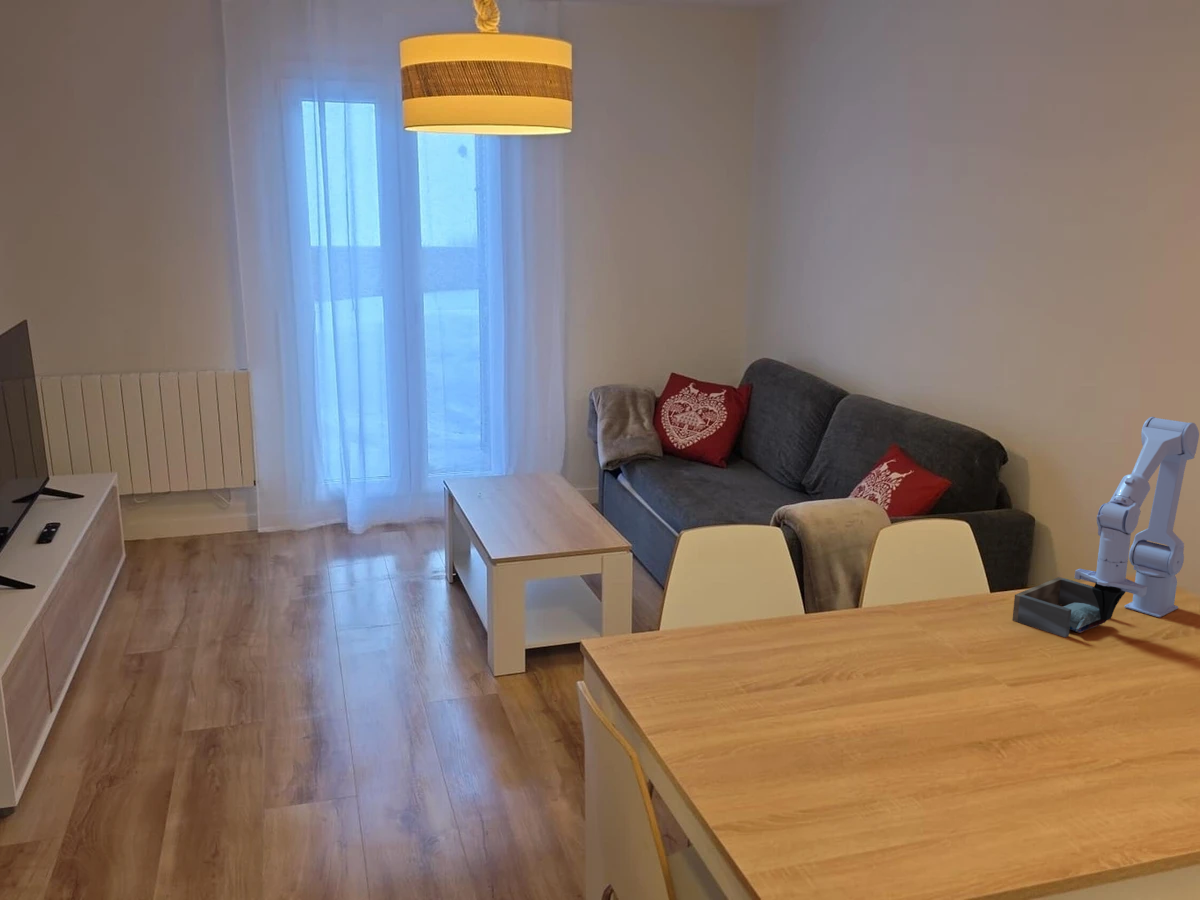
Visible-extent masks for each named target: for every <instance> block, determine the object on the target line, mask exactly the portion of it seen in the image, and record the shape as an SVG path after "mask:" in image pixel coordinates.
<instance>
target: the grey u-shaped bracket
mask: <svg viewBox="0 0 1200 900" xmlns="http://www.w3.org/2000/svg"><path fill="white" fill-rule="evenodd" d="M1092 587H1094V586H1093V585H1089V584H1086V583H1082V582H1078V581H1076V580H1071V579H1067V578H1064V577H1060V576H1057V577H1055V578H1053V579H1051V580H1047V581H1046V582H1043V583H1041V584H1038V585H1036V586H1033V587H1030V588H1028V589H1026V590H1024V591H1021V592H1018V593H1015V594H1014V601H1013V609H1012V619H1011V620H1012V621H1014V622H1017V623H1019V624H1023V625H1026V626H1029V627H1032V628H1035V629H1036V630H1037V629H1039V630H1041V631H1044V632H1047V633H1051V634H1052V635H1056V636H1060V637H1063V638H1067V637H1069V635H1070V629H1069V628H1070V619H1071V610H1072V609H1068V608H1065V607H1063V606H1066V605H1069V604H1072V603H1085V604H1088V605H1092V606H1095V607H1097V608H1098V609H1099V606H1098V603H1097V600H1096V597H1095V595H1094V593H1093V591H1092Z"/></svg>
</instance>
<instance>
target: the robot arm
mask: <svg viewBox="0 0 1200 900" xmlns="http://www.w3.org/2000/svg"><path fill="white" fill-rule="evenodd" d="M1140 437H1141V445H1142V448H1141V450H1140V452H1139V454H1138V457H1137V459H1136V461H1135V463H1134V467H1133V469H1132V471H1131V473H1128V474H1126V475H1124V476H1123V477H1122V479H1121V480H1120V482H1119V483H1118V485H1117V488H1116V489H1115V491H1114V492H1113V494H1112V496H1111V498H1110V500H1109V501H1108V502H1106V503H1103V504H1102V505H1101V506H1099V509H1098V511H1097V515H1096V525H1097V534H1098V536H1099V546H1098V552H1097V563H1096V571H1095V570H1089V569H1083V568H1078V569H1075V571H1074V579H1075V580H1083V581H1086V582H1091V583H1093V584H1094V586H1093V587H1092V591H1093V593H1094V595H1095V597H1096V600H1097V603H1098V606H1099V611H1100V618H1101V619H1103V620H1106V622H1107V621H1110V620H1111V619H1112V616H1113V614H1114V612H1115V609H1116V607H1117V606H1118V603H1119V602H1120V600H1121V599H1122V598H1123V596H1124V595H1125V594H1126V593H1128V594H1129V593H1130V594H1132V601H1130V602H1128V603H1126V604H1125V605H1124V608H1126V609H1127V610H1133V611H1135V612H1138V613H1143V614H1146V615H1150V616H1153V617H1157V618H1162V617H1164V616H1165V615H1167V614H1169V613H1172V612H1173V611H1176V610H1177V609H1179V605H1175V599H1176V593H1177V585H1178V580H1177V579H1178V578H1177V576H1176V575H1177V574H1178V573H1180V571H1182V568H1183V564H1184V559H1185V554H1184V550H1185V549H1184V548H1185V542H1184V541H1183V540H1182V539H1181V538H1180V537H1179V536H1178V535H1177V534H1176V533H1175V532H1174V526H1175V521H1176V516H1177V511H1178V505H1179V500H1180V496H1181V490H1182V485H1183V479H1184V475H1185V469H1186V467H1187V466H1186V465H1187V461H1190V460H1193V459H1194V458H1195V456H1196V454H1197V449H1198V443H1199V440H1200V439H1199V437H1200V431H1199V429H1198V426H1197V424H1196V423H1195V422H1187V421H1186V422H1185V421H1180V420H1172V419H1166V418H1165V419H1164V418H1159V417H1155V416H1150V417H1148V418H1147V419H1146V420H1145V421H1144V423H1143V425H1142V427H1141V435H1140ZM1158 468H1159V469H1158ZM1157 469H1158V473H1157V474H1158V476H1157V480H1156V485H1155V491H1154V496H1153V500H1152V501H1153V502H1152V506H1151V512H1150V516H1149V522H1148V527H1147V528H1145V529H1144V530H1142V531H1139V532H1137V533H1136V534H1135V535H1134V537H1133V542H1132V544H1131V536H1132V533H1133V532H1134V531H1135V530H1136V528H1137V525H1138V522H1139V518H1140V515H1141V507H1142V505H1143V503H1144V501H1145V500H1146V499H1147V498H1146V497H1147V496H1148V494H1149V492H1150V491H1151V485H1150V483H1149V481H1150V479H1151V477H1152V476H1153V475H1154V473H1155V472H1156V471H1157ZM1130 544H1131V546H1130ZM1128 562H1130V564H1131V565H1132V566H1133V570H1135V577H1134V578H1135V579H1134V581H1133V580H1131V579H1128V578H1127V571H1128V569H1127V568H1128Z"/></svg>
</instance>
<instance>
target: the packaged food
mask: <svg viewBox="0 0 1200 900" xmlns="http://www.w3.org/2000/svg"><path fill="white" fill-rule="evenodd" d="M1062 607H1065V608H1068V609H1072V610H1071V619H1070V628H1069V630H1071V631H1074V632H1076V633H1080V634H1081V633H1083V632H1085V631H1087V630H1090V629H1093V628H1096V627H1098V626H1100V625H1103V624H1105V623H1106V622H1107V621H1106V620H1103V619H1101V618H1100V611H1099V609H1098V608H1097V607H1095V606H1092V605H1088V604H1085V603H1072V604H1069V605H1066V606H1063V605H1062Z"/></svg>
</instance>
